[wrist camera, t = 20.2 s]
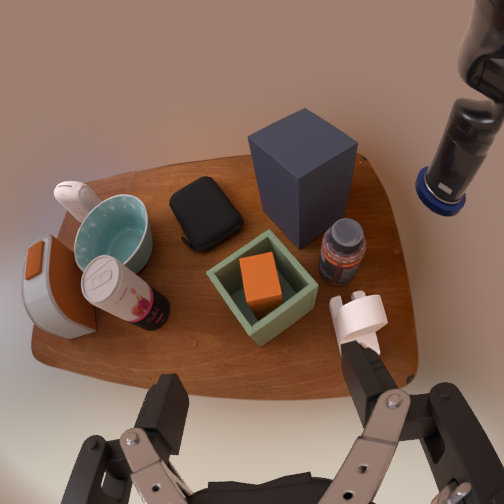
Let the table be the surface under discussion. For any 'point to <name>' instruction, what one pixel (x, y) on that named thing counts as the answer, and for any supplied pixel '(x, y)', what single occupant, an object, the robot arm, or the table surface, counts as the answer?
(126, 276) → the beverage can
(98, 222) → the bowl
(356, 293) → the cable organizer
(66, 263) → the orange grey trash bin
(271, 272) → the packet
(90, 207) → the photo printer
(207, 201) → the carrying case
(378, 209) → the table surface
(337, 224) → the supplement bottle
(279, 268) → the open box
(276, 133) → the stand
